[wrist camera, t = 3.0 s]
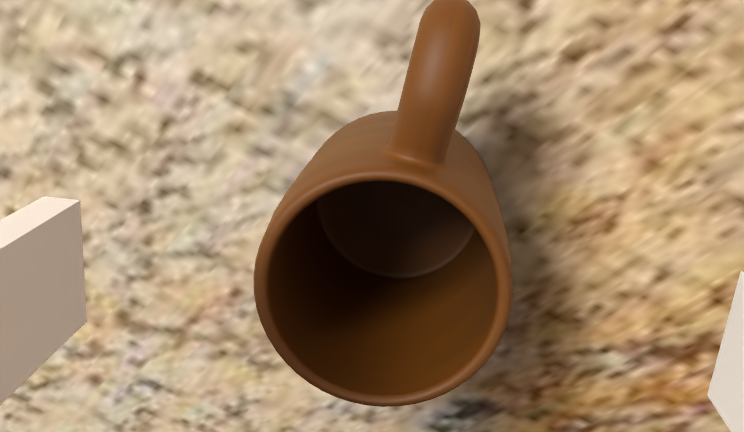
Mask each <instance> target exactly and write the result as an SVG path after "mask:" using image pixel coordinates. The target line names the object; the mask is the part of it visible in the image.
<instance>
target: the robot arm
mask: <svg viewBox="0 0 744 432" xmlns="http://www.w3.org/2000/svg"><path fill="white" fill-rule="evenodd" d="M86 322H87V316H86V298H85V280H84V262H83V244H82V226H81V209H80V200H73V199H64V198H54V197H45V196H44V197H42V198H40V199H38V200H36V201H34V202H33V203H31V204H29V205H27V206H25V207H23V208H22V209H20V210H18V211H16V212H14V213H12V214H11V215H9V216H7V217H5V218H3V219H1V220H0V405H1V404H2V403H3V402H4V401H5V400H6V399H7V398H8V397H9V396H10V395H11V394H12V393H13V392H14V391H15V390H16V389H17V388H18V387H19V386H20V385H21V384H22V383H24V382H25V381H26V380H27V379H28V378H29V377H30V376H31V375H32V374H33V373H34V372H35V371H36V370H37V369H38V368H39V367H40V366H41V365H42V364H43V363H44V362H45V361H46V360H47V359H48V358H49V357H50V356H52V355H53V354H54V353H55V352H56V351H57V350H58V349H59V348H60V347H61V346H62V345H63V344H64V343H65V342H66V341H67V340H68V339H69V338H70V337H71V336H72V335H73V334H74V333H75V332H76V331H77V330H78V329H80V328H81V327H82V326H83V325H84V324H85V323H86ZM707 395H708V397H709V399H710V400H711V402H712V403H713V405H714V406H715V408H716V409H717V411H718V413H719V414H720V416H721V417H722V419H723V420H724V422H725V424H726V425H727V427H728V428H729V430H730V431H731V432H744V272H740V276H739V280H738V283H737V287H736V291H735V294H734V298H733V302H732V306H731V309H730V313H729V317H728V320H727V324H726V328H725V331H724V335H723V339H722V343H721V346H720V350H719V354H718V357H717V361H716V365H715V369H714V372H713V376H712V380H711V383H710V387H709V391H708V394H707Z"/></svg>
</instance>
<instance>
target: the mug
mask: <svg viewBox="0 0 744 432" xmlns="http://www.w3.org/2000/svg"><path fill="white" fill-rule="evenodd" d="M479 35H480V21H479V18H478V14H477V11H476V10H475V8H474V7H473V6H472V5H471V4H470V3H469V2H468V1H466V0H434V1H433V2H432V3H431V4H430V5H429V6H428V7H427V8H426V10H425V12H424V14H423V16H422V18H421V21H420V24H419V28H418V32H417V36H416V40H415V44H414V47H413V51H412V55H411V59H410V63H409V67H408V71H407V75H406V79H405V83H404V87H403V91H402V95H401V99H400V103H399V107H398V111H387V112H380V113H375V114H370V115H368V116H365V117H362V118H359V119H357V120H355V121H353V122H351V123H349V124H347V125H346V126H344V127H343V128H341V129H340V130H339V131H337V132H336V133H335V134H334V135H332V136H331V137H330V138H329V139H328V140H327V141H326V142H325V143H324V144H323V146H322V147H321V148H320V149H319V150H318V152H317V153H316V154H315V155H314V157H313V158H312V160H311V161H310V162H309V163H308V164H307V166H306V167H305V168H304V169H303V171H302V172H301V173H300V175H299V176H298V178H297V179H296V180H295V182H294V183H293V184H292V186H291V187H290V188H289V190H288V191H287V193H286V194H285V196H284V197H283V199H282V200H281V202H280V204H279V205H278V207H277V209H276V210H275V212H274V214H273V216H272V219H271V221H270V223H269V225H268V228H267V230H266V232H265V235H264V237H263V239H262V242H261V244H260V247H259V250H258V254H257V258H256V262H255V270H254V295H255V302H256V307H257V311H258V314H259V318H260V321H261V323H262V326H263V328H264V330H265V332H266V335H267V337H268V338H269V340H270V341H271V343H272V345H273V346H274V348H275V350H276V351H277V352H278V354H279V355H280V356H281V357H282V359H283V360H284V361H285V362H286V363H287V364H288V365H289V366H290V367H291V368H292V369H293V370H294V371H295V372H296V373H297V374H298V375H300V376H301V377H302V378H304V379H305V380H306V381H307V382H309V383H310V384H312V385H314V386H315V387H317V388H319V389H320V390H322V391H324V392H326V393H329V394H331V395H333V396H335V397H338V398H341V399H344V400H347V401H350V402H354V403H359V404H364V405H371V406H382V407H386V406H403V405H410V404H416V403H420V402H423V401H427V400H431V399H433V398H436V397H438V396H440V395H443V394H445V393H447V392H449V391H451V390H452V389H454V388H456V387H458V386H459V385H461V384H462V383H463V382H465V381H466V380H467V379H469V378H470V377H471V376H473V375H474V374H475V373H476V372H477V371H478V370H479V369H480V368H481V367H482V366H483V365H484V364H485V362H486V361H487V360H488V359H489V357H490V356H491V355H492V354H493V352H494V351H495V349H496V347H497V346H498V344H499V342H500V340H501V338H502V336H503V334H504V331H505V329H506V327H507V323H508V319H509V316H510V312H511V304H512V295H513V293H512V269H511V254H510V248H509V243H508V237H507V233H506V230H505V226H504V222H503V219H502V215H501V211H500V208H499V205H498V202H497V199H496V196H495V192H494V189H493V185H492V182H491V179H490V176H489V173H488V171H487V169H486V167H485V165H484V163H483V161H482V159H481V158H480V156H479V155H478V153H477V152H476V150H475V149H474V147H473V146H472V145H471V144H470V143H469V142H468V141H467V140H466V138H464V137H463V136H462V135H461V134H460V133H459V132H457V131H456V130H455V127H456V124H457V120H458V117H459V114H460V111H461V108H462V105H463V101H464V98H465V95H466V91H467V88H468V84H469V80H470V77H471V73H472V69H473V65H474V61H475V57H476V53H477V48H478V43H479Z"/></svg>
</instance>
